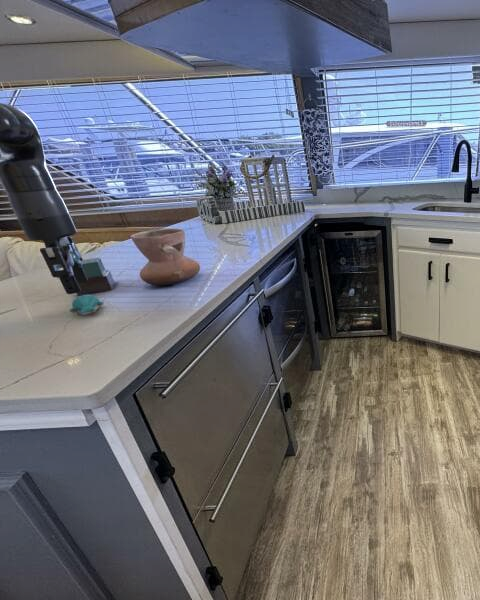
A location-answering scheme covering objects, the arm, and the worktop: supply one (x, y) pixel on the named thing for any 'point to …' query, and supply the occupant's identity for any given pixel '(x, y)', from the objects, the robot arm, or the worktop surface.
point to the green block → (93, 267)
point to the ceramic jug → (165, 256)
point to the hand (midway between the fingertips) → (78, 287)
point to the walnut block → (97, 284)
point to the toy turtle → (85, 304)
